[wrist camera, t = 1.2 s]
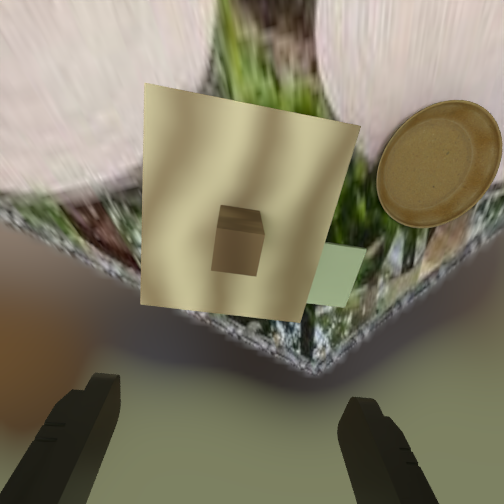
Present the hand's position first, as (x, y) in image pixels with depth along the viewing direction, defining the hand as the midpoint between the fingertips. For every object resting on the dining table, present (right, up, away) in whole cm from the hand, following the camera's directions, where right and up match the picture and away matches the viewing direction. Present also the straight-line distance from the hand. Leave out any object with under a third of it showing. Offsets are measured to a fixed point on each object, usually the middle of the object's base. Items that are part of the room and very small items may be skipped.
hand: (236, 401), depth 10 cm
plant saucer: (+22, +16, +27) cm, 39 cm away
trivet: (+11, +2, +33) cm, 34 cm away
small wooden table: (-1, +13, +27) cm, 30 cm away
